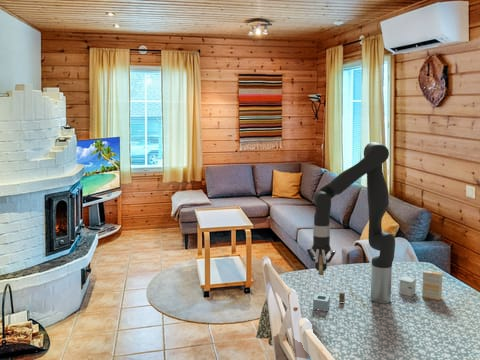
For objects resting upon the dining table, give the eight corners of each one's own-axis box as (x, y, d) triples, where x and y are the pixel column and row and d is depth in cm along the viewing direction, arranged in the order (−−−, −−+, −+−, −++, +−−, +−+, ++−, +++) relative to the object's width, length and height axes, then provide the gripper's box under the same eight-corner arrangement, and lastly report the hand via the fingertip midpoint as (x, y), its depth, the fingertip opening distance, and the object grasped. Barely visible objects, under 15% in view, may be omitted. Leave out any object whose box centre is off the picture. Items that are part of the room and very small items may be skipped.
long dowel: (318, 273, 209) (319, 252, 208) (324, 273, 208) (324, 253, 207) (317, 274, 207) (318, 254, 205) (323, 275, 206) (323, 254, 205)
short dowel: (339, 301, 211) (339, 292, 211) (344, 301, 211) (344, 292, 210) (338, 303, 209) (339, 294, 208) (344, 303, 208) (344, 294, 208)
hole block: (315, 304, 208) (315, 293, 208) (329, 306, 206) (329, 295, 205) (313, 309, 202) (313, 299, 202) (327, 311, 200) (327, 301, 199)
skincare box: (398, 293, 219) (399, 279, 218) (403, 289, 224) (403, 275, 222) (411, 296, 215) (411, 282, 214) (415, 292, 220) (416, 278, 219)
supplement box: (441, 297, 214) (443, 271, 212) (440, 301, 210) (441, 274, 208) (423, 294, 218) (424, 268, 216) (421, 297, 214) (422, 271, 212)
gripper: (338, 233, 206) (337, 269, 208) (308, 230, 211) (308, 265, 213) (335, 237, 199) (334, 274, 201) (304, 234, 204) (304, 271, 206)
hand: (320, 270), depth 207 cm, fingers closed on long dowel, 2 cm apart
